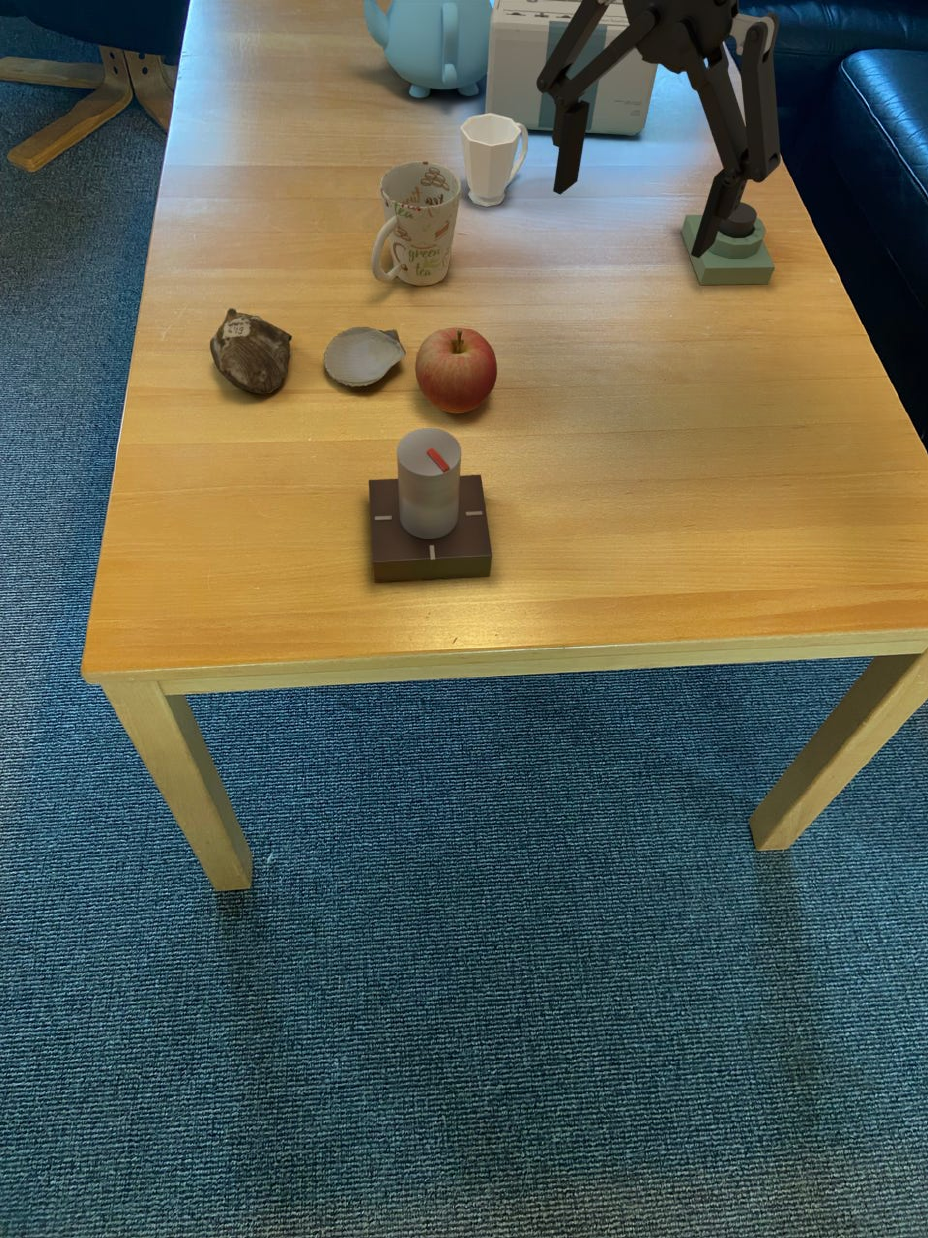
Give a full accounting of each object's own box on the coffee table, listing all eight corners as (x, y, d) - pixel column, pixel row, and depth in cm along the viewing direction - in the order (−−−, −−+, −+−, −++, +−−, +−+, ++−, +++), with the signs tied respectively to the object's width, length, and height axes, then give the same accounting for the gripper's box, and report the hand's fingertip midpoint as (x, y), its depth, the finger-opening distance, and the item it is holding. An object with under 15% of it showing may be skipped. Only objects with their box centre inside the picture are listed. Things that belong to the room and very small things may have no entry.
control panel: (479, 495, 76) (481, 472, 74) (490, 577, 72) (492, 555, 69) (370, 500, 76) (368, 477, 73) (374, 583, 71) (372, 562, 68)
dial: (388, 509, 71) (384, 440, 64) (437, 485, 73) (438, 416, 66) (420, 548, 69) (419, 482, 62) (469, 523, 71) (474, 455, 64)
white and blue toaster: (484, 134, 109) (494, -50, 92) (485, 101, 113) (495, -80, 96) (642, 143, 109) (682, -39, 92) (637, 110, 114) (674, -69, 97)
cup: (446, 194, 101) (447, 126, 95) (502, 164, 105) (507, 97, 98) (487, 220, 99) (491, 152, 92) (543, 188, 103) (551, 120, 96)
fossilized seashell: (223, 307, 85) (190, 385, 81) (242, 271, 80) (207, 352, 76) (290, 345, 88) (261, 421, 84) (313, 312, 83) (283, 392, 79)
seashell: (326, 363, 87) (333, 401, 82) (317, 336, 85) (324, 374, 80) (401, 342, 88) (413, 379, 82) (395, 315, 85) (406, 351, 80)
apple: (449, 359, 86) (451, 293, 79) (510, 395, 83) (517, 330, 77) (398, 400, 82) (395, 335, 76) (459, 439, 80) (462, 375, 73)
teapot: (351, 80, 115) (343, -42, 103) (445, 34, 123) (448, -84, 111) (438, 126, 110) (440, 3, 98) (530, 74, 118) (542, -45, 106)
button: (755, 239, 93) (761, 222, 91) (720, 239, 93) (726, 222, 91) (745, 217, 95) (751, 200, 93) (711, 218, 95) (717, 201, 93)
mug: (471, 263, 94) (476, 178, 86) (410, 323, 89) (408, 238, 80) (411, 237, 97) (409, 151, 88) (346, 295, 91) (338, 208, 82)
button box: (768, 283, 95) (781, 252, 91) (700, 285, 94) (710, 253, 91) (745, 230, 100) (757, 199, 96) (681, 231, 99) (690, 199, 96)
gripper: (914, -61, 50) (784, 255, 68) (571, -166, 57) (536, 144, 75) (865, -20, 47) (743, 300, 65) (508, -137, 54) (487, 180, 72)
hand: (631, 217), depth 70 cm, fingers open, 13 cm apart
